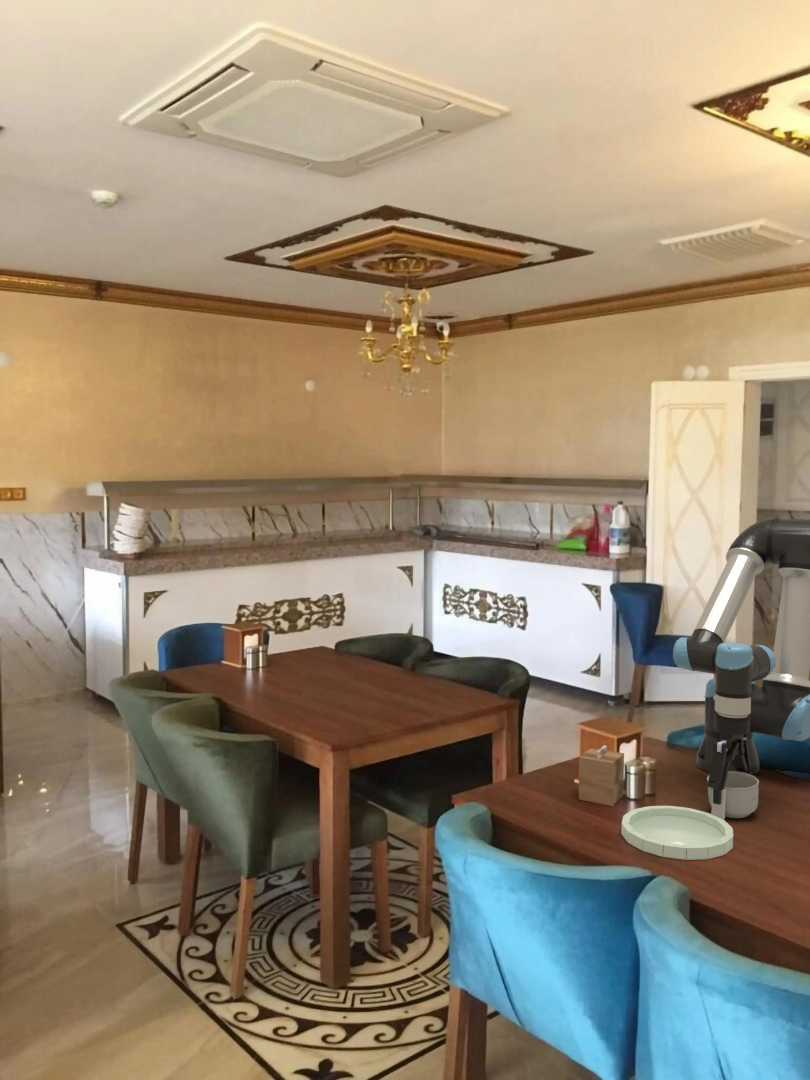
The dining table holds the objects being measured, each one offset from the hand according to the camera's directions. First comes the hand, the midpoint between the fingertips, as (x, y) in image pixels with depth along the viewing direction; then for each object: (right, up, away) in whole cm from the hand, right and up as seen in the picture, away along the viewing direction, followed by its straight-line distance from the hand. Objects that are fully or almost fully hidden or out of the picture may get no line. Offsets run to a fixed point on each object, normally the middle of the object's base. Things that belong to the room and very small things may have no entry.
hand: (728, 809), depth 205 cm
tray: (-16, -2, -13) cm, 21 cm away
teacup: (+1, -1, +1) cm, 1 cm away
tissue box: (-27, 0, +9) cm, 28 cm away
